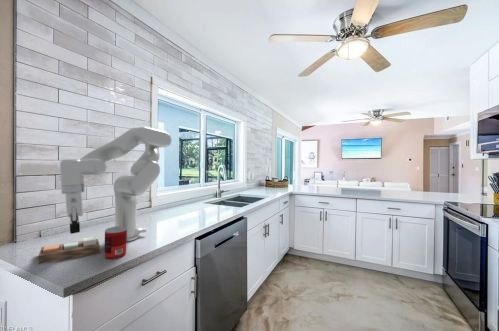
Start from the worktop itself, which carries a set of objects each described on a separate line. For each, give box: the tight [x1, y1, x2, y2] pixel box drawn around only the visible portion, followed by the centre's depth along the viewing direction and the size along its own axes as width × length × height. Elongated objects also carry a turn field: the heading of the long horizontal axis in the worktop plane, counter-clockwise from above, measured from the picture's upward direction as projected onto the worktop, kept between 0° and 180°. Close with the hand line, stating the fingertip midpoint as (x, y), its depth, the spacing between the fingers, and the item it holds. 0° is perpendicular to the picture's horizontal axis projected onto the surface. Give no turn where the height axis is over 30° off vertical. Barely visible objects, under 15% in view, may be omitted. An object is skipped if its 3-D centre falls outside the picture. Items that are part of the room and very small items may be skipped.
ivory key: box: [82, 236, 97, 246], centre depth 98 cm, size 5×5×3 cm
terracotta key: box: [43, 244, 59, 253], centre depth 90 cm, size 5×5×3 cm
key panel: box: [37, 238, 101, 265], centre depth 94 cm, size 19×11×3 cm, turn 128°
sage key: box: [63, 241, 79, 249], centre depth 94 cm, size 5×5×3 cm
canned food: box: [103, 226, 128, 260], centre depth 93 cm, size 8×8×11 cm
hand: (75, 232), depth 95 cm, fingers closed
